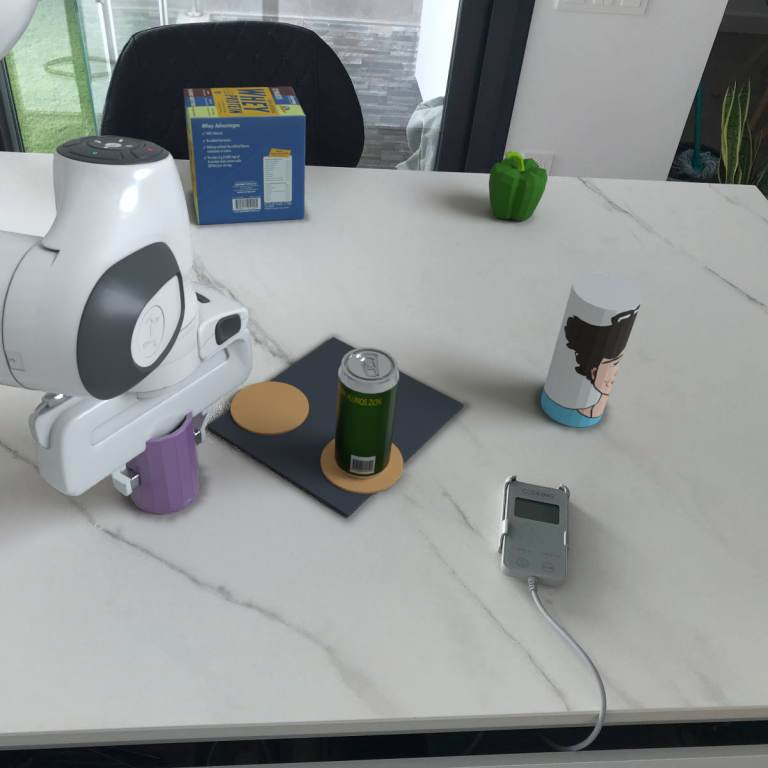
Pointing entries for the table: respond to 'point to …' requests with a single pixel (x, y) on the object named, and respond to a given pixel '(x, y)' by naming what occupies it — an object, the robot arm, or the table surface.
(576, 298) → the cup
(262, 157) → the protein box
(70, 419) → the robot arm
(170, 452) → the purple cup
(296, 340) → the table surface
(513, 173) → the bell pepper
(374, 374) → the beer can
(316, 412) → the placemat
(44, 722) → the table surface
